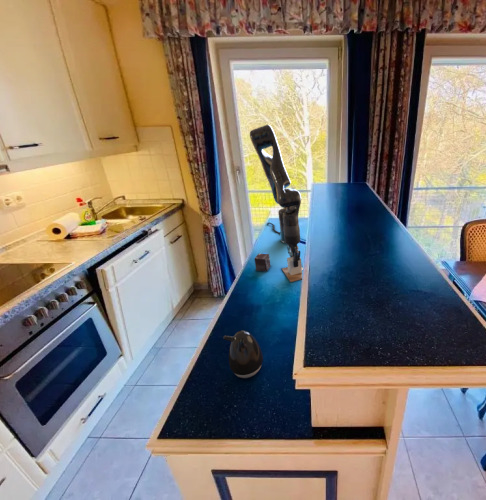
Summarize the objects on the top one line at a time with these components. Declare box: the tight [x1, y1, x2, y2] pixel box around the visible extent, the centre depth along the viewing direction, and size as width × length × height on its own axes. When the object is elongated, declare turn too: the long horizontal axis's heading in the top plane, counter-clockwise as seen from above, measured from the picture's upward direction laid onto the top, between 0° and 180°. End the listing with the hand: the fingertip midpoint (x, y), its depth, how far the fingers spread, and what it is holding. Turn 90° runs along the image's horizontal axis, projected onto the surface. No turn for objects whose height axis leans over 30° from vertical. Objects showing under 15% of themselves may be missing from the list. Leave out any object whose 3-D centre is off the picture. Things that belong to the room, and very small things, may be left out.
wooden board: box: [281, 266, 304, 283], centre depth 141 cm, size 14×10×1 cm
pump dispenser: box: [223, 329, 264, 379], centre depth 85 cm, size 10×10×15 cm
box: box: [253, 253, 272, 272], centre depth 144 cm, size 6×6×7 cm
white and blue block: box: [286, 256, 303, 275], centre depth 139 cm, size 6×4×9 cm, turn 114°
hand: (294, 264), depth 139 cm, fingers closed on white and blue block, 4 cm apart
